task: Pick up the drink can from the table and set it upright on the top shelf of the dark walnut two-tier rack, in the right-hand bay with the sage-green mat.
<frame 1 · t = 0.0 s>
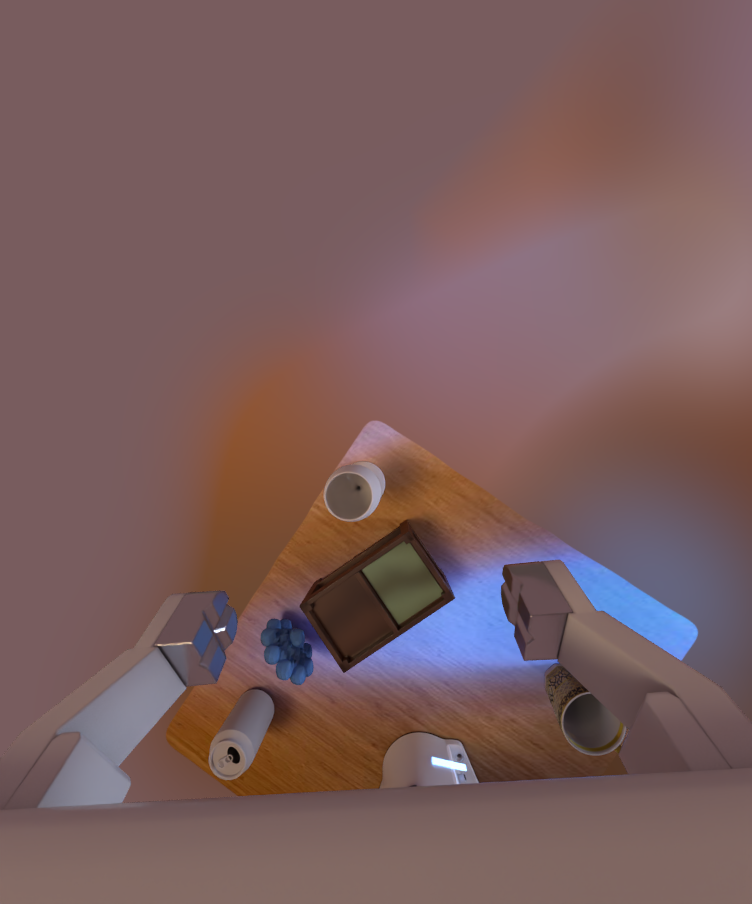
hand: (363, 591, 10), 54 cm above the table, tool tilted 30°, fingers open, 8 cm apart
rack: (379, 579, 64), on the table
wineglass: (363, 483, 64), on the table
can: (257, 704, 65), on the table
ceramic cup: (566, 685, 62), on the table
grapes: (301, 627, 64), on the table
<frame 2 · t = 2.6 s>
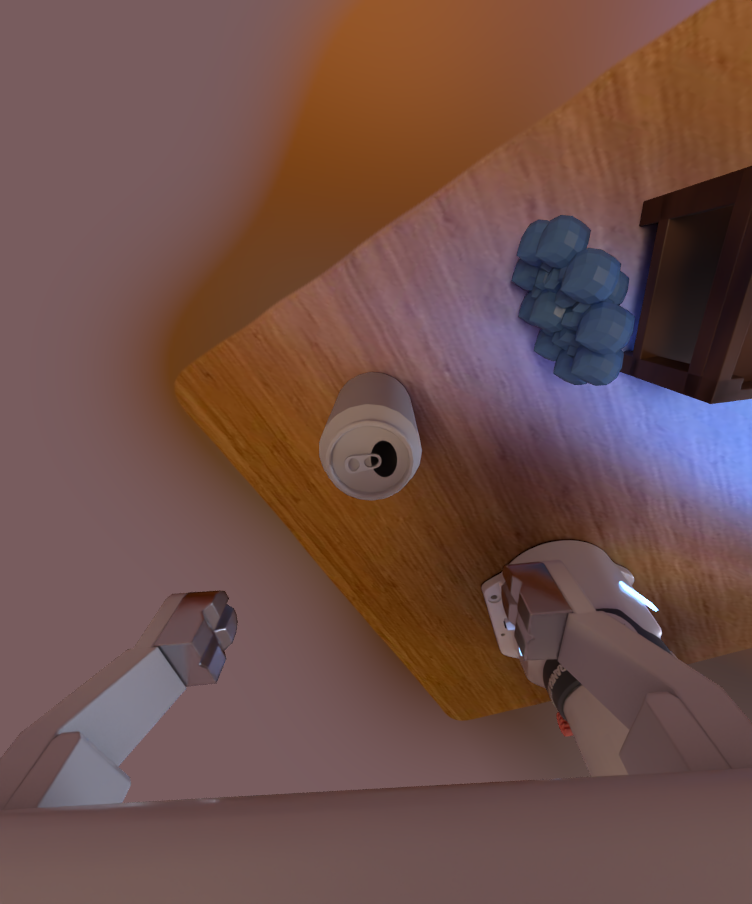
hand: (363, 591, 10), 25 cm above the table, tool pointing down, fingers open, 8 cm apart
can: (373, 406, 33), on the table
grapes: (540, 298, 29), on the table
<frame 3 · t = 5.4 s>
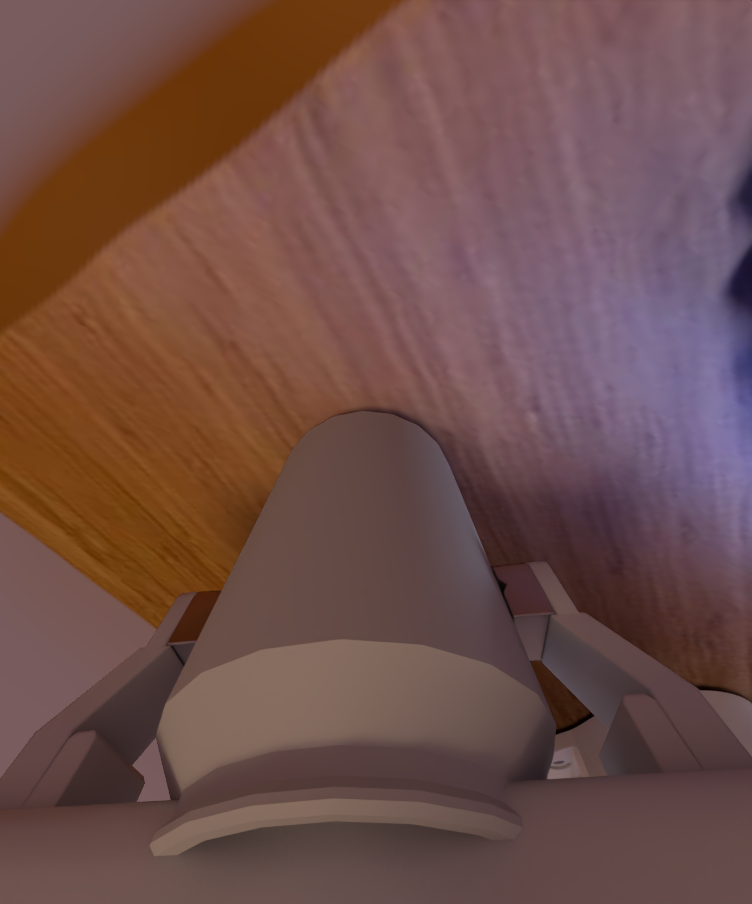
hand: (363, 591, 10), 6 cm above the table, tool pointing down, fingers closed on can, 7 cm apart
can: (368, 477, 16), on the table, touching gripper
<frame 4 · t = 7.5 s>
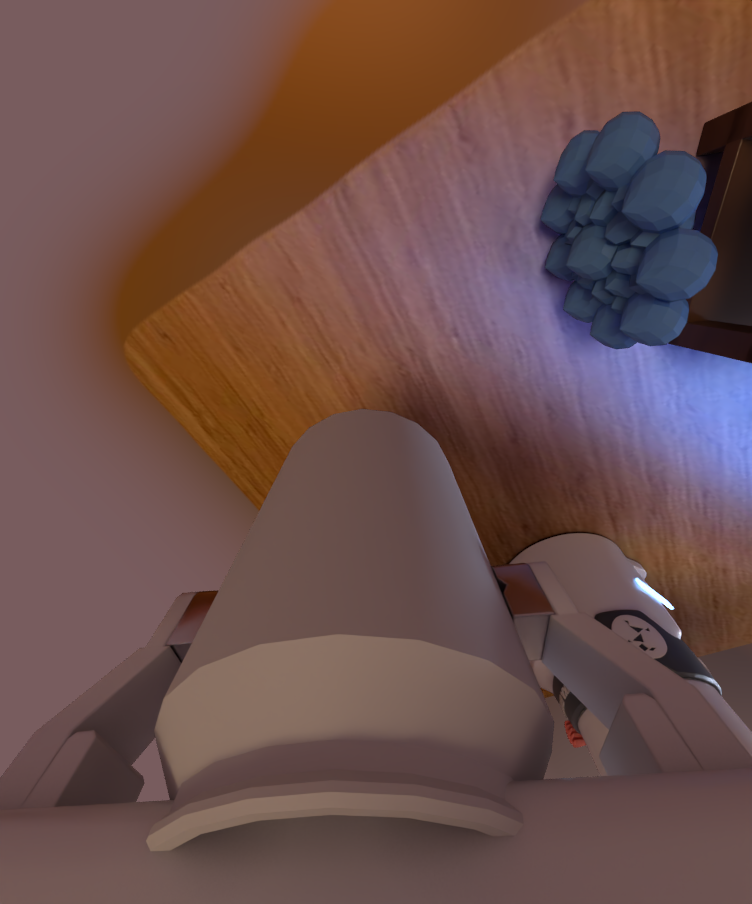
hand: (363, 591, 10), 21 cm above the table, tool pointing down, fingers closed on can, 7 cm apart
can: (367, 475, 16), point 14 cm above the table, touching gripper
grapes: (570, 247, 24), on the table
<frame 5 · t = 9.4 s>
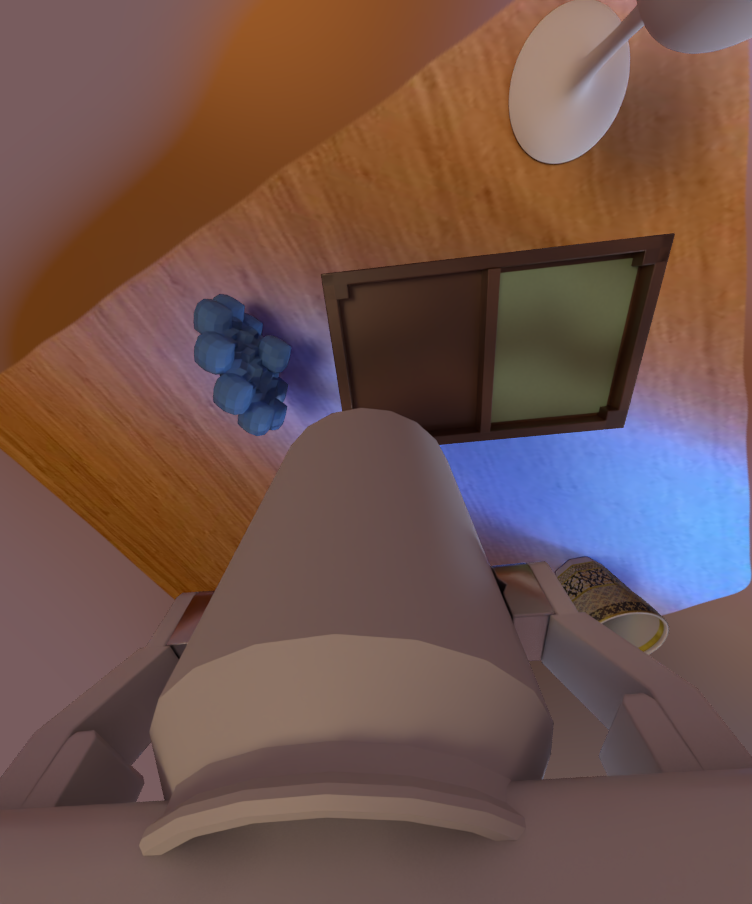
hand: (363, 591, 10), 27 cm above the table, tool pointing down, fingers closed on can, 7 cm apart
rack: (456, 338, 33), on the table
wineglass: (565, 90, 25), on the table
can: (366, 474, 16), point 21 cm above the table, touching gripper
ceramic cup: (576, 579, 48), on the table
grapes: (275, 349, 33), on the table
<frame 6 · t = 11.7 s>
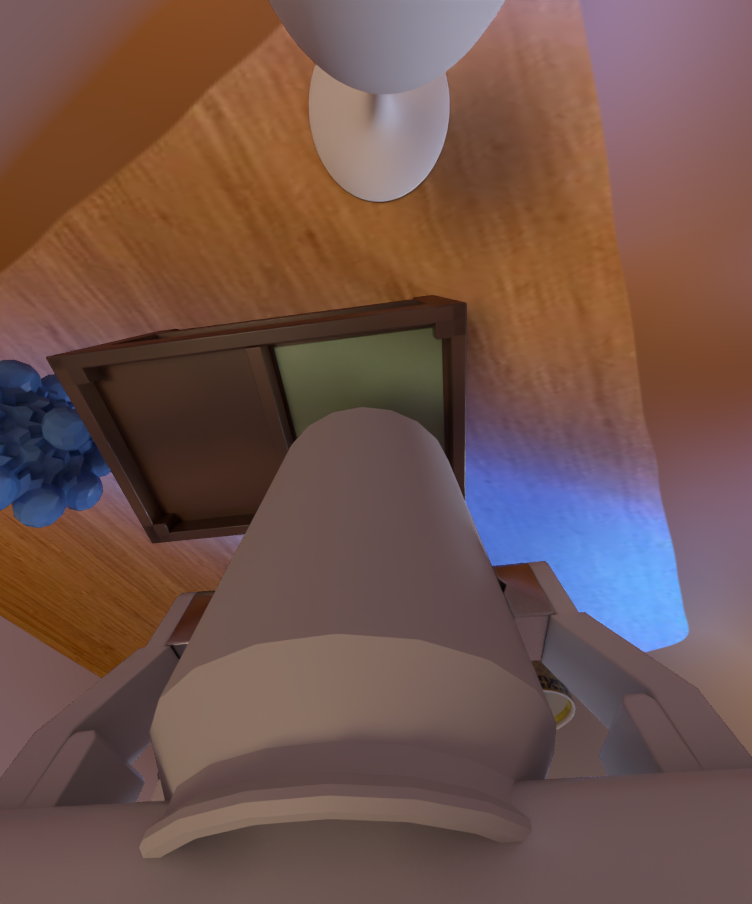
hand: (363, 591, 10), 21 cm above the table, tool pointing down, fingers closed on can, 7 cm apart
rack: (310, 393, 29), on the table
wineglass: (379, 117, 21), on the table
can: (367, 474, 16), point 14 cm above the table, touching gripper
ceramic cup: (497, 633, 44), on the table
grapes: (110, 408, 29), on the table
when the fingers open (16 cm above the table, at t = 13.7 s): can stays where it is, resting on rack.
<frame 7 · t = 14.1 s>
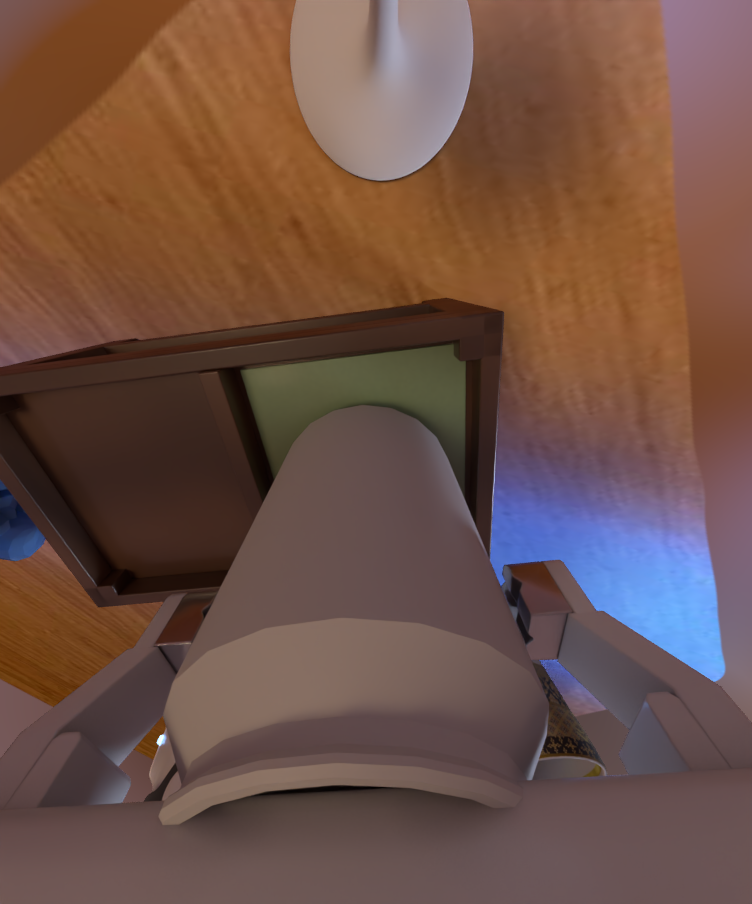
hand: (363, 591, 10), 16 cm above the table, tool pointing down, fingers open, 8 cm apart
rack: (298, 414, 24), on the table
wineglass: (381, 69, 16), on the table
can: (367, 471, 16), point 9 cm above the table, touching rack
ceramic cup: (511, 672, 40), on the table
grapes: (62, 431, 25), on the table
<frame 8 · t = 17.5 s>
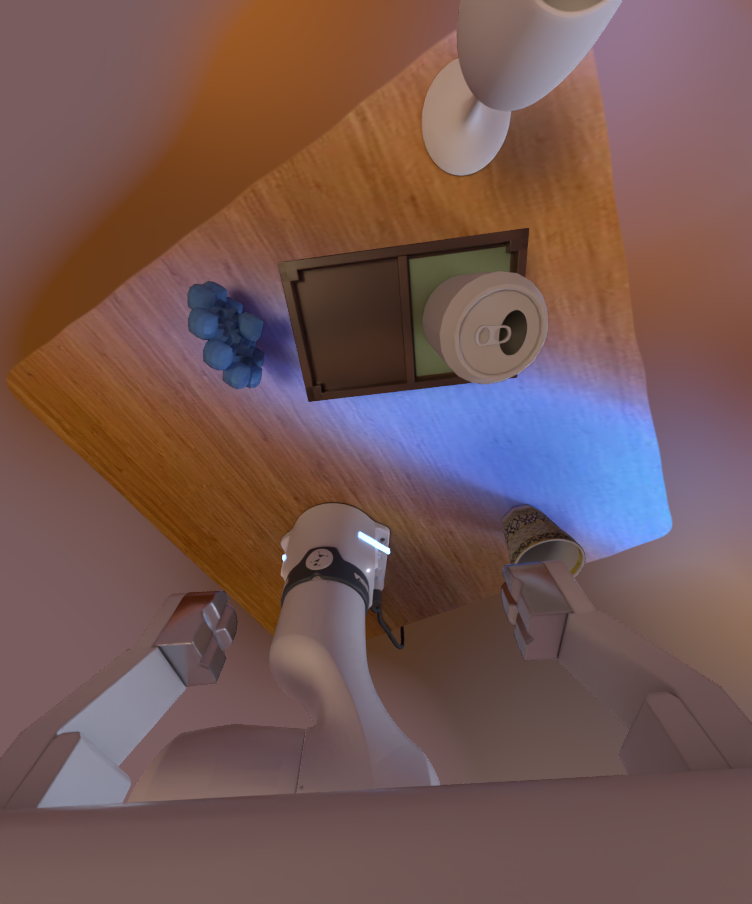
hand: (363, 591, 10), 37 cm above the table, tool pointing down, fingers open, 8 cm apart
rack: (399, 315, 41), on the table
wineglass: (465, 120, 33), on the table
can: (458, 317, 32), point 9 cm above the table, touching rack
ceramic cup: (521, 526, 56), on the table
grapes: (254, 327, 41), on the table
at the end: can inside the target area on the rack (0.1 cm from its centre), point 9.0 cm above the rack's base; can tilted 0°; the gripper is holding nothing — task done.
